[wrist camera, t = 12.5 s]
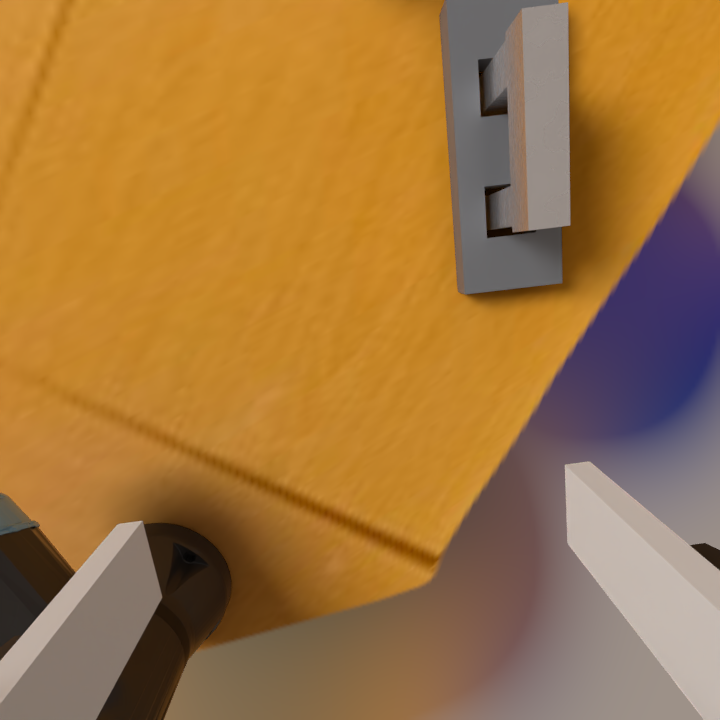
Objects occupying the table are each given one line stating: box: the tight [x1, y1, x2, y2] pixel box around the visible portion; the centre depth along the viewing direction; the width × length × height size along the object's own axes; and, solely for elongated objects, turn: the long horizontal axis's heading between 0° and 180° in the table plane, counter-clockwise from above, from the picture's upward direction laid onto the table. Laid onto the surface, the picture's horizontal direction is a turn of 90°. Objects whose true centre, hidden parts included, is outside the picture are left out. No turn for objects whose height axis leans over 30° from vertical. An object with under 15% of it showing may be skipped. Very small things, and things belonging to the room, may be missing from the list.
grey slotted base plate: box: [440, 0, 562, 294], centre depth 41 cm, size 9×24×3 cm, turn 7°
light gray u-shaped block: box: [479, 2, 570, 232], centre depth 37 cm, size 3×14×12 cm, turn 7°
